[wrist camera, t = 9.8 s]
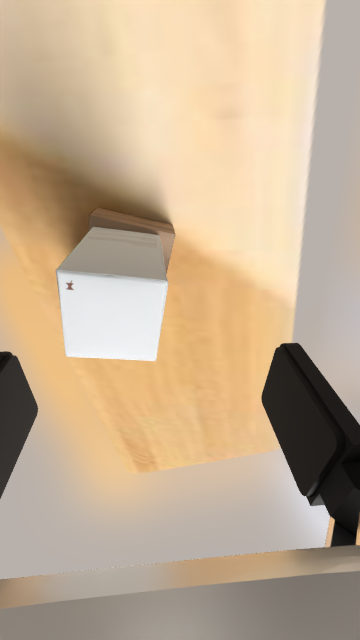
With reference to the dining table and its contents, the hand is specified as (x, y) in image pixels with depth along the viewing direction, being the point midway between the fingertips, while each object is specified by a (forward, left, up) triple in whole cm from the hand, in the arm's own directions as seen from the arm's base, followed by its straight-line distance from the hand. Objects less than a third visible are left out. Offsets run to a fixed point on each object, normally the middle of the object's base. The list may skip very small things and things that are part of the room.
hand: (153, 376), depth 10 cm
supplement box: (+3, -3, -22) cm, 22 cm away
